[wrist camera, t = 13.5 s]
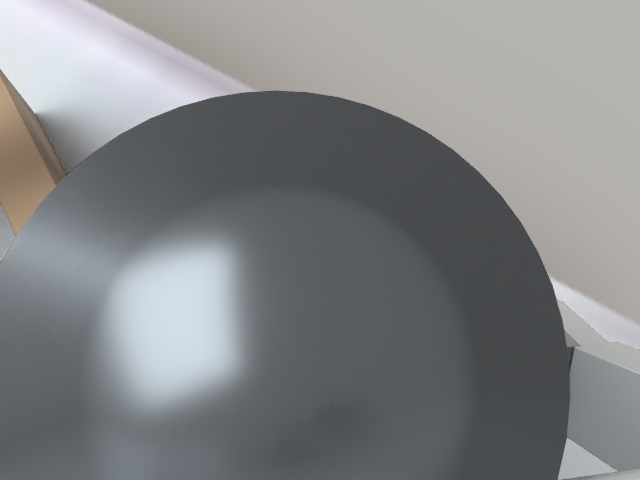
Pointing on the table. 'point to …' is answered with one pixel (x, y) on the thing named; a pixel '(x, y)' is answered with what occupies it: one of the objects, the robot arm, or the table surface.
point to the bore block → (23, 158)
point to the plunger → (278, 308)
